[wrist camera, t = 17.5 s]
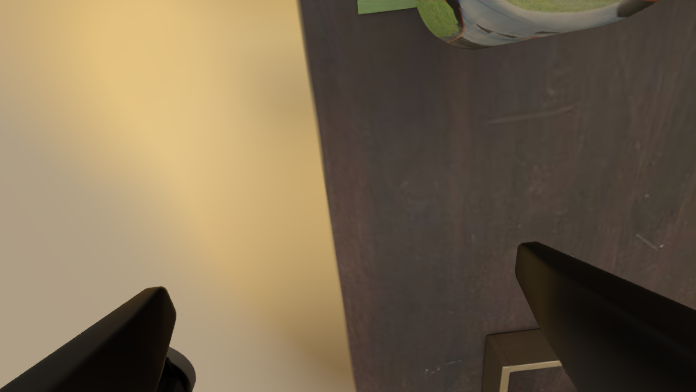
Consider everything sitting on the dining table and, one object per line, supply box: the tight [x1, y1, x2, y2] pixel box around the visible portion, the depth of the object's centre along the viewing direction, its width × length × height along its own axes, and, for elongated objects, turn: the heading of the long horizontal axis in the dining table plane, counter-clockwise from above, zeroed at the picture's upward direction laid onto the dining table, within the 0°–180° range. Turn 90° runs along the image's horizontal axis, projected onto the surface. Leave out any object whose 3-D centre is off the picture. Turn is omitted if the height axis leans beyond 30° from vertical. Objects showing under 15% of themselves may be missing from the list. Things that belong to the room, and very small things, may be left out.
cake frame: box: [482, 329, 562, 392], centre depth 30 cm, size 10×10×3 cm
